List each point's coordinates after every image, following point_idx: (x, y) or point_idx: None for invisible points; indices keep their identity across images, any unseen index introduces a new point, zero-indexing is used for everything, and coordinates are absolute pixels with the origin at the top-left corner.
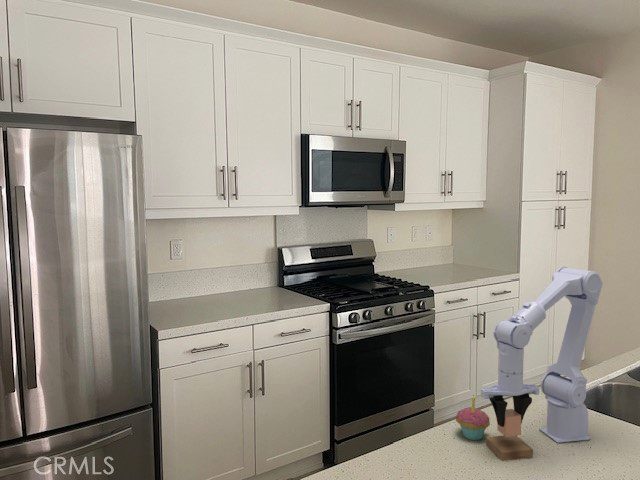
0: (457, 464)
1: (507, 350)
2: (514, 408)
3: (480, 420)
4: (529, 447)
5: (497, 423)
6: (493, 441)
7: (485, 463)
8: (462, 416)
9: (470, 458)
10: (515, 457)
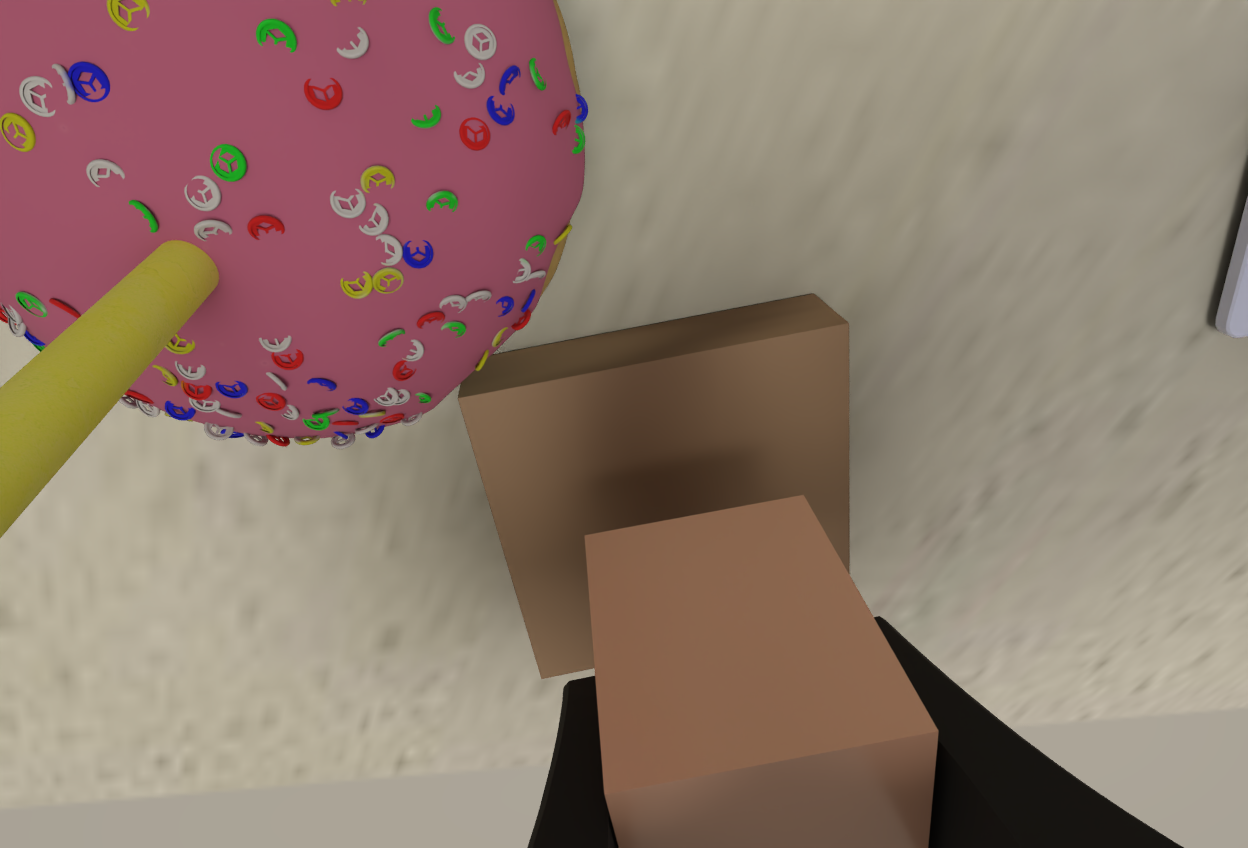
0: (126, 690)
1: None
2: (966, 789)
3: (355, 416)
4: None
5: (563, 691)
6: (520, 494)
7: (382, 662)
8: None
9: (255, 604)
10: None
